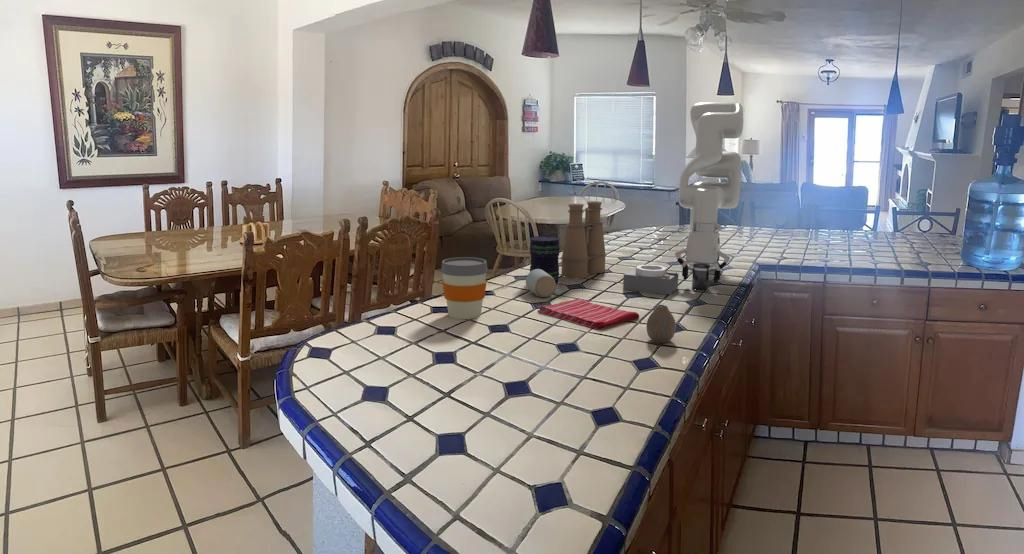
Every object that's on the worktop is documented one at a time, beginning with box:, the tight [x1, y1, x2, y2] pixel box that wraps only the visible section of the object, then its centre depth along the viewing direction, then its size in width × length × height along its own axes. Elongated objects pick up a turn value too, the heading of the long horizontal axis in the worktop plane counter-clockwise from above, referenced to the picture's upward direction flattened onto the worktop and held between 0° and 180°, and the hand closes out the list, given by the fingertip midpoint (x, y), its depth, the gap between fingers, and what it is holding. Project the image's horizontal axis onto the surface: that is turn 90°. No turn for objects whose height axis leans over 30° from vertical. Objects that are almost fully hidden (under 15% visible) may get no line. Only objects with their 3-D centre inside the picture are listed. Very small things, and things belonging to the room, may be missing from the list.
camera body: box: [622, 264, 679, 296], centre depth 217 cm, size 10×15×7 cm, turn 62°
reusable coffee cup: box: [440, 256, 488, 320], centre depth 185 cm, size 13×12×15 cm
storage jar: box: [529, 235, 561, 285], centre depth 225 cm, size 10×10×15 cm
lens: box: [691, 263, 711, 291], centre depth 217 cm, size 5×5×8 cm
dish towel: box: [537, 298, 640, 330], centre depth 186 cm, size 17×24×3 cm
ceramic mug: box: [525, 269, 563, 298], centre depth 208 cm, size 11×8×8 cm
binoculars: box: [560, 200, 608, 279], centre depth 238 cm, size 21×10×25 cm, turn 138°
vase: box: [646, 304, 677, 344], centre depth 164 cm, size 7×7×9 cm
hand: (700, 280), depth 217 cm, fingers open, 9 cm apart
